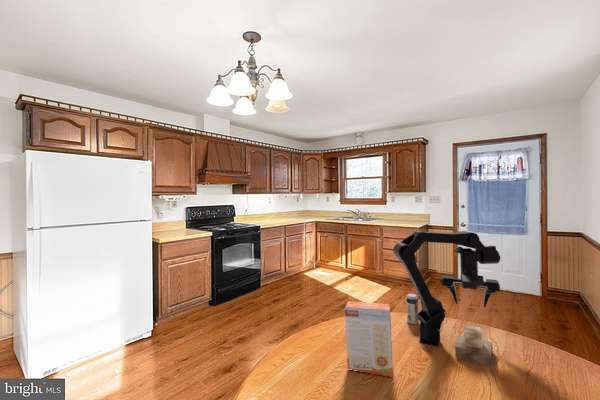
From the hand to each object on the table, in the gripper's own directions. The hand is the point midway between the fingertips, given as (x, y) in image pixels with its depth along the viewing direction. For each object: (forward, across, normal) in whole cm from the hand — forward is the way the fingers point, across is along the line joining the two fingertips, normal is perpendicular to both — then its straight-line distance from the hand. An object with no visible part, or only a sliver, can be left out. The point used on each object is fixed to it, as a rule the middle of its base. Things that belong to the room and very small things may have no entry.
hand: (470, 305), depth 110 cm
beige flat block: (+14, 0, -12) cm, 18 cm away
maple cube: (+10, 0, -12) cm, 15 cm away
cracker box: (+13, -29, -36) cm, 48 cm away
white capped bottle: (+13, -22, +6) cm, 26 cm away
